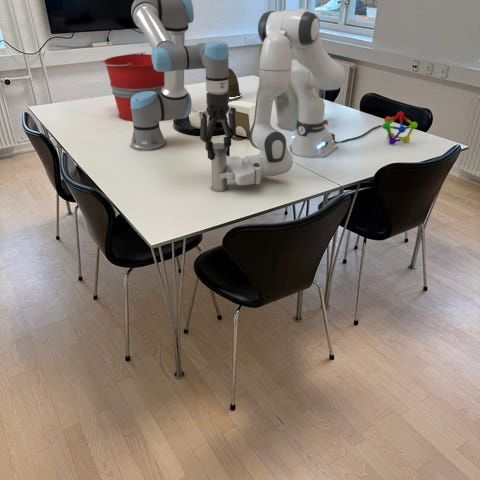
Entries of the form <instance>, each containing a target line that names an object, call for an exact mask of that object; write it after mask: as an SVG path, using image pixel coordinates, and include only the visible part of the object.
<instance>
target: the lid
mask: <svg viewBox="0 0 480 480" xmlns="http://www.w3.org/2000/svg"><path fill="white" fill-rule="evenodd" d="M226 152H227V145H226V144H224V142H213V153H215V154H222V153H226Z"/></svg>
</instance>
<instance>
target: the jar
mask: <svg viewBox="0 0 480 480" xmlns="http://www.w3.org/2000/svg"><path fill="white" fill-rule="evenodd" d="M210 161H211V162H210V163H211V189H212V190H213V191H215V192H223V191H226V190H227V189H228V179H226V178H223V179H221V178H220V177H219V173H222V172H224V173H227V155H226V153H222V154H215V153H213V160H210Z"/></svg>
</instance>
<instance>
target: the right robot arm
mask: <svg viewBox="0 0 480 480" xmlns="http://www.w3.org/2000/svg"><path fill="white" fill-rule="evenodd" d="M320 23H321V22H320V19H319V17H318V16H317V15H316V14H315V13H314V12H311V11H310V10H309V9H307V8H301V7H300V8H296V9H295V10H293V9H292V10H291V9H288V10H277V11H274V10H270V11H266V12H264V13H262V15H261V16H260V18H259V20H258V24H257V32H258V33H257V34H258V37H259V39H260V41H261V43H262V45H261V51H260V56H259V57H260V58H259V73H258V74H259V75H258V87H257V92H256V99H255V107H254V117H253V124H252V126H251V128H250V130H249V134H248V139H249V143H250V145H251V146H252V147H254V148H255V149H256V150H259V154H254V155H253V154H252V155H246V156H244V158H242V157H241V156H238V155H230V156H227V155H226V156H227V173H224V172H222V173H219V177H220V178H221V179H223V178H226V179H227V180H233V181H234V182H235V184H236V185H238V186H247V185H253V184H254V185H259V184H261V181H262V180H261V179H262V178H264V177H276V176H280V175H284V174H286V173H288V172H290V171H291V169H292V168H293V164H294V163H293V162H294V159H293V155H292V153H293V154H295V155H297V156H299V157H305V158H316V157H320V158H325V157H327V156H328V155H329V154H331V153H332V152H334V151H335V150H336V149H338V145H337V144H341V143H345V142H348V141H353V140H356V139H360V138H362V137H364V136H365V135H367V134H369V133H370V132H372V131H373V130H376V129H377V128H381V127H383V124H379V125H377V126H374V127H372V128H370V129H369V130H368V131H366V132H364V133H362V134H361V135H358V136H356V137H352V138H347V139H344V140H342V141H336V137H335V136H336V134H335V133H332V132H330V131H329V130H327V129H326V127H325V126H328V125H329V124H330V121H329V120H328V119H324V118H325V117H324V116H325V106H326V105H325V102H324V101H325V100H323V98H322V97H321V98H320V97H319V96H318V95H317V94H316V92H315V89H321V90H325V91H335V90H339V89H340V88H341V87H342V86H343V84H344V83H345V80H346V70H345V67H344V66H343V64H340V63H338V62H337V61H336V60H334V59H333V58H332V57H331V56H330V54H328V52H327V51H326V50H325V48H324V45H323V43H322V39H321V35H320V29H321V27H320V26H321V25H320ZM292 52H293V55H294V58H295V59H293V58H292ZM289 83H290V84H291V85H292V87H293V88H294V90H295V92H296V95H297V98H298V119H297V122H296V128H297V129H296V130H294V134H293V135H292V136H291V139H293V140H292V143H291V144H290V148H291V152H292V153H291V152H290V151H289V149H288V145H287V139H286V136H285V135H284V134H283V133H282V132H281V131H279V130H277V129H276V128H274V127H273V125H272V122H271V118H272V111H273V104H274V102H275V100H274V99H275V98H276V97H277V96H279V95H281V94H282V93H284V92H285V91H286V90H287V89H288V87H289ZM314 88H315V89H314Z"/></svg>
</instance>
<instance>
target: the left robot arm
mask: <svg viewBox="0 0 480 480" xmlns="http://www.w3.org/2000/svg"><path fill="white" fill-rule="evenodd" d="M130 13H131V18H132V21H133V22H134V24H135V26H136V27H137V28H139V29H140V30H141V31H142V33H143V35H144V36H145V39H146V40H147V43H148V44H149V46H150V47H151V54H150V55H151V56H152V63H153V67H154V69H155V70H156V71H158V72H164V87H163V88H162V89H161V94H159V95H157V94H156V92H154V91H145V92H140V93H137V94H135V95H133V96H132V98H131V110H132V118H133V121H132V125H133V132H132V135H131V147H132V148H134V149H135V150H141V151H151V150H153V151H154V150H157V149H161V148H163V147H164V146H165V144H166V140H165V137H164V135H163V132H162V130H161V127H160V122H166V121H173V120H174V121H175V120H182V119H187V118H188V117H190V114H191V112H192V105H193V104H192V103H193V102H192V96H191V94H190V92H188V89H187V88H186V87H185V71H189V70H200V69H201V70H202V69H203V70H204V69H205V91H206V94H205V95H206V96H205V97H206V109H205V111H203V112H202V111H200V112H199V113H198V114H199V118H200V128H199V129H200V130H199V139H200V141H202V142H203V143H204V144H205V151H207V159H209V160H210V161H211V160H213V143H214V142H213V141H212V138H213V135H214V130H215V127H216V125H217V122H218V121H219V120H220V123H221V126H222V128H223V131H224V134H225V135H224V137H223V143H224V144H226V145H227V152H226V156H231V154H230V153H231V146H232V139H234V136H236V135H237V126H236V125H237V124H236V112H237V109H236V107H233V106H229V102H230V100H229V93H228V68H229V58H230V53H229V45H228V43H227V42H225V41H220V40H219V41H218V40H214V41H213V40H212V41H207V42H199V43H196V44H191V45H189V44H188V45H185V34H186V32H187V31H188V30H189V24H191V23H193V22H194V19H195V12H194V5H193V1H192V0H134V1H133V2H132V4H131V10H130ZM227 115H228V116H227Z"/></svg>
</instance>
